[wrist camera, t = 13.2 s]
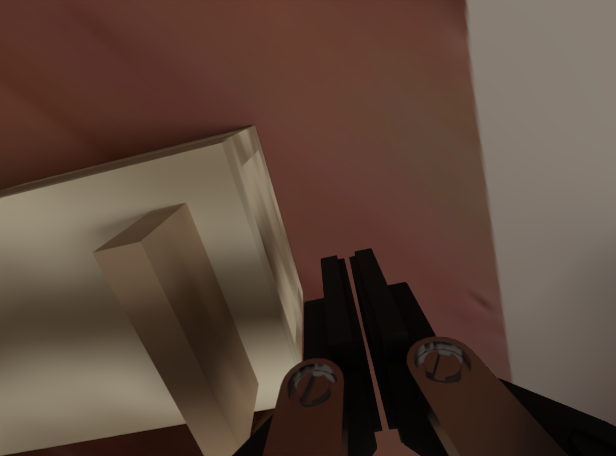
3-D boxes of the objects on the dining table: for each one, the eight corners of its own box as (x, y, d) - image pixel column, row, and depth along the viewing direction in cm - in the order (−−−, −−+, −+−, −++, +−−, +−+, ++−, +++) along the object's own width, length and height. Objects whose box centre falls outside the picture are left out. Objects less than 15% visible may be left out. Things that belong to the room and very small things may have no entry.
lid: (307, 305, 20) (307, 481, 11) (75, 352, 21) (-102, 544, 12) (255, 125, 16) (185, 160, 7) (-27, 197, 17) (-413, 308, 8)
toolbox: (302, 292, 21) (301, 378, 15) (110, 332, 22) (29, 427, 16) (254, 125, 17) (222, 140, 11) (23, 183, 18) (-135, 229, 12)
